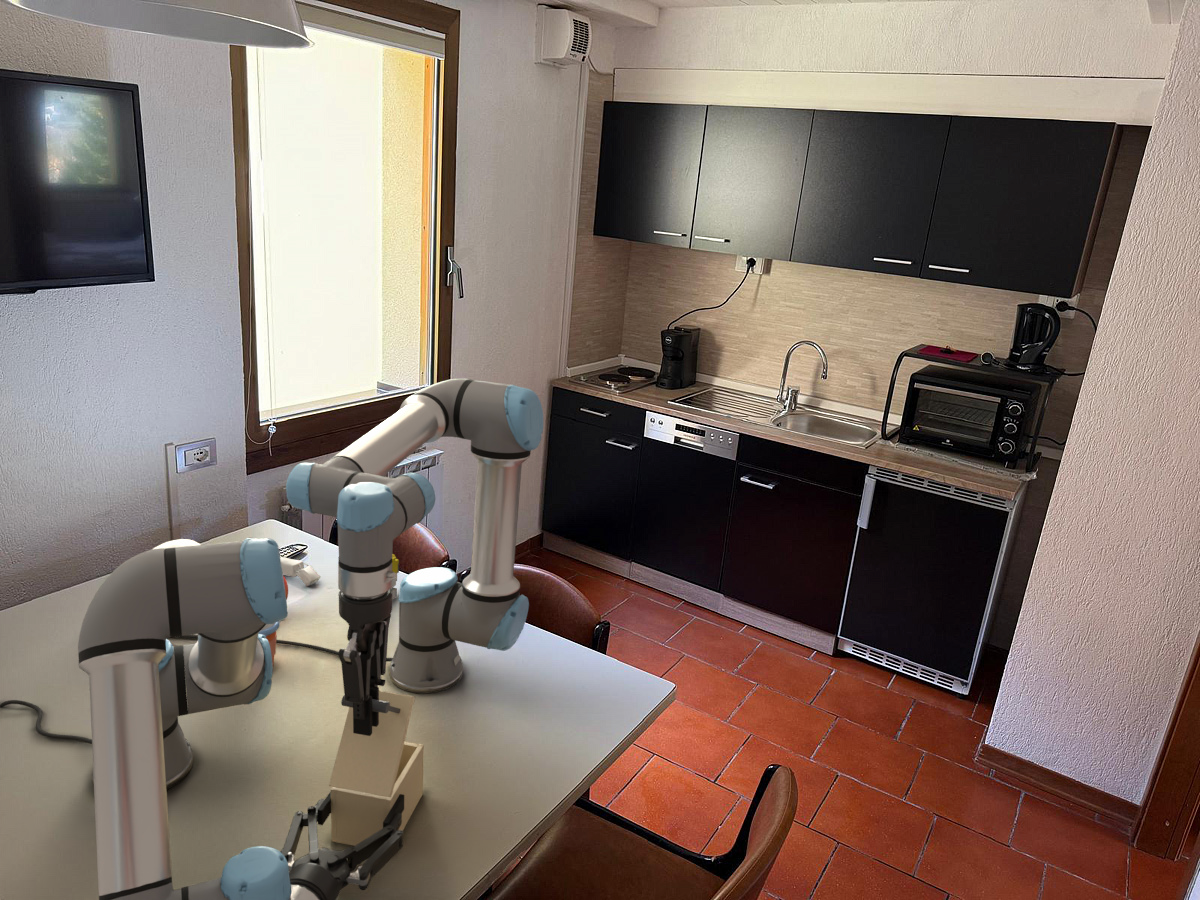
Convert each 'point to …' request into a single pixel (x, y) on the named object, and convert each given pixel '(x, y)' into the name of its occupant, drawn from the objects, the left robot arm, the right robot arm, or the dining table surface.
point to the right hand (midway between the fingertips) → (366, 728)
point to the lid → (373, 747)
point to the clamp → (299, 570)
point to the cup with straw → (271, 636)
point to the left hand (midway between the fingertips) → (370, 795)
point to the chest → (377, 801)
